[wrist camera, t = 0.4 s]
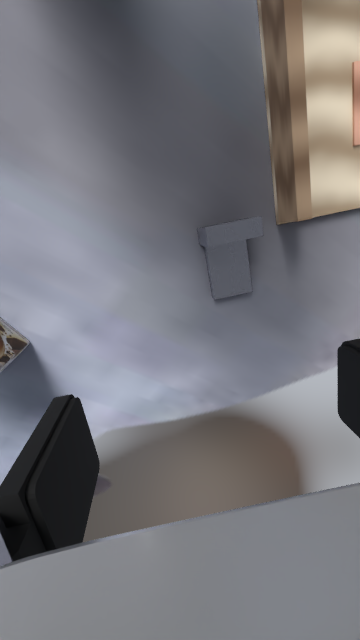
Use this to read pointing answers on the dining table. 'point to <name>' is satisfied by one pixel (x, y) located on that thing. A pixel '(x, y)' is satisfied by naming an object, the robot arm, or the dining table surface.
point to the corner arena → (312, 104)
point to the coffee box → (10, 344)
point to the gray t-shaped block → (229, 255)
